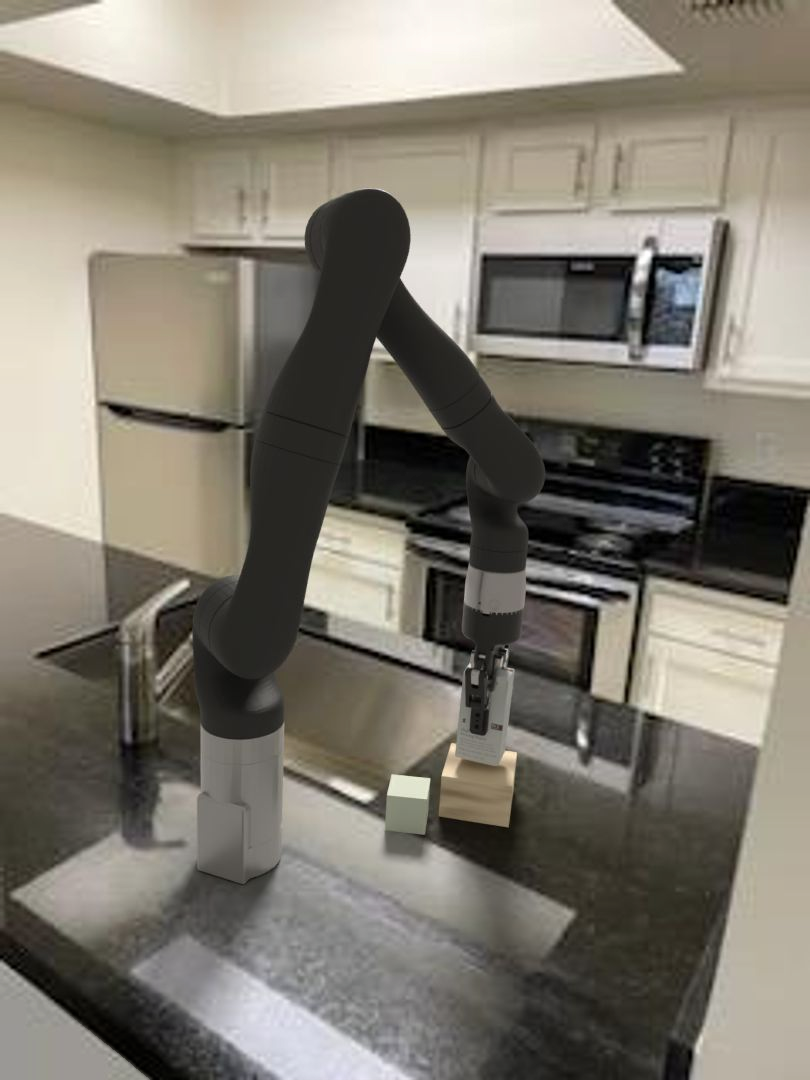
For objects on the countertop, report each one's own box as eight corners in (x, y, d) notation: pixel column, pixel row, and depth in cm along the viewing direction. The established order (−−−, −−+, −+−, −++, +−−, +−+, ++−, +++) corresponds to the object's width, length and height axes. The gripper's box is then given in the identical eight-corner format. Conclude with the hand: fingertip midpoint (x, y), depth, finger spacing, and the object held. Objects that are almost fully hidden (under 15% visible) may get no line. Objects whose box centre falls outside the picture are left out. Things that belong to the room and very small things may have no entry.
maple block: (508, 828, 107) (512, 786, 105) (438, 817, 108) (441, 775, 107) (513, 791, 115) (517, 752, 114) (448, 782, 117) (451, 742, 115)
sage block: (424, 835, 104) (427, 799, 103) (384, 830, 104) (386, 795, 103) (428, 812, 109) (430, 778, 108) (389, 808, 109) (391, 774, 108)
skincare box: (453, 758, 109) (460, 672, 106) (462, 742, 113) (468, 659, 110) (500, 768, 107) (508, 680, 104) (507, 751, 111) (515, 667, 108)
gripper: (480, 580, 112) (471, 698, 117) (448, 612, 99) (438, 743, 104) (535, 589, 110) (524, 709, 114) (509, 622, 97) (497, 756, 101)
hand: (483, 724), depth 109 cm, fingers closed on skincare box, 4 cm apart
